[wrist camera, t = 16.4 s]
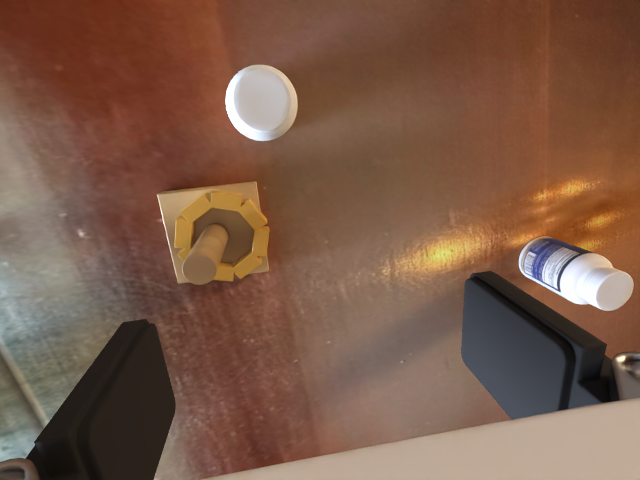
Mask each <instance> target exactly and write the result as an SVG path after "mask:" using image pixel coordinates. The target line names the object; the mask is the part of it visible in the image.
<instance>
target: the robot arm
mask: <svg viewBox="0 0 640 480" xmlns="http://www.w3.org/2000/svg"><path fill="white" fill-rule="evenodd" d="M606 346H607V344H606V343H604V342H602V341H601V340H599V339H598V338H596V337H595V336H593V335H591V334H590V333H588V332H587V331H585V330H584V329H582V328H580V327H579V326H577V325H576V324H574V323H573V322H571V321H569V320H568V319H566V318H565V317H563V316H562V315H560V314H558V313H557V312H555V311H554V310H552V309H551V308H549V307H547V306H546V305H544V304H543V303H541V302H540V301H538V300H536V299H535V298H533V297H532V296H530V295H529V294H527V293H525V292H524V291H522V290H521V289H519V288H518V287H516V286H514V285H513V284H511V283H510V282H508V281H507V280H505V279H503V278H502V277H500V276H499V275H497V274H496V273H494V272H492V271H488V272H481V273H473V274H472V275H471V276H470V279H467V280H466V282H465V294H464V311H463V329H462V347H461V354H462V358H463V361H464V363H465V364H466V366H467V367H468V368H469V369H470V370H471V372H472V373H473V374H474V375H475V376H476V378H477V379H478V380H479V381H480V382H481V383H482V385H483V386H484V387H485V388H486V389H487V391H488V392H489V393H490V394H491V395H492V397H493V398H494V399H495V400H496V401H497V403H498V404H499V405H500V406H501V407H502V408H503V410H504V411H505V412H506V413H507V414H508V416H509V417H510V418H511V419H512V420H507V421H502V422H497V423H491V424H486V425H481V426H475V427H470V428H465V429H459V430H454V431H449V432H444V433H438V434H433V435H428V436H423V437H417V438H412V439H407V440H402V441H396V442H391V443H386V444H381V445H375V446H370V447H365V448H360V449H355V450H349V451H344V452H339V453H334V454H329V455H323V456H318V457H313V458H308V459H303V460H297V461H292V462H287V463H282V464H277V465H272V466H266V467H261V468H256V469H251V470H246V471H241V472H236V473H231V474H226V475H221V476H216V477H211V478H206V479H200V480H640V352H622V353H618V354H616V355H615V356H614V357H613V358H612V360H611V359H610V358H608V357H607V356H605V350H606ZM175 406H176V404H175V397H174V393H173V390H172V386H171V382H170V378H169V374H168V370H167V367H166V363H165V359H164V355H163V351H162V347H161V344H160V340H159V336H158V332H157V328H156V326H155V324H154V323H151V324H149V322H148V321H147V320H146V319H143V320H136V321H129V322H123V323H122V324H121V325H120V327H119V328H118V329H117V331H116V332H115V334H114V335H113V336H112V338H111V339H110V340H109V342H108V343H107V344H106V346H105V347H104V348H103V350H102V351H101V352H100V354H99V355H98V357H97V358H96V359H95V361H94V362H93V363H92V365H91V366H90V367H89V369H88V370H87V371H86V373H85V374H84V375H83V377H82V378H81V380H80V381H79V382H78V384H77V385H76V386H75V388H74V389H73V390H72V392H71V393H70V394H69V396H68V397H67V398H66V400H65V401H64V403H63V404H62V405H61V407H60V408H59V409H58V411H57V412H56V413H55V415H54V416H53V417H52V419H51V420H50V422H49V423H48V424H47V426H46V427H45V428H44V430H43V431H42V432H41V434H40V435H39V436H38V438H37V439H36V440H35V442H34V443H35V446H34V448H33V449H32V450H31V452H30V453H29V454H28V456H27V457H26V459H24V458H16V459H9V460H6V461H3V462H0V480H153V479H154V476H155V473H156V470H157V467H158V464H159V460H160V457H161V454H162V451H163V448H164V445H165V442H166V439H167V436H168V433H169V429H170V426H171V423H172V420H173V417H174V414H175Z"/></svg>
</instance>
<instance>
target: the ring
mask: <svg viewBox="0 0 640 480" xmlns="http://www.w3.org/2000/svg"><path fill="white" fill-rule="evenodd" d="M242 197H243V194H238V193H231V192H224V191H216V190H213V191H212V193H211V198H210V197H209V195H208V194H207V193H206V192H205V193H204V194H202V195H201V196H200V197H198V198H197V199H196V200H194V201H193V202H192V203H190V204H189V205H188V206H186V207H185V208H184V209H183V210H182V211H181V212H180V213H181V214H182V216H179V217H178V218H177V219H176V227H175V246H174V247H175V248H183V249H181V250H180V252H179V253H178V256H179V257H180V258H181V259H182V260H183V261H185V259H186V257H187V256H188V254H189V253H190V251H191V250H192V248H193V246H194V243H193V238H194V223H195V220H197V219H198V218H199V217H201V216H202V215H203V214H205V213H206V212H207V211H209V210H210V209H211V208H218V209H226V210H234V211H239V213H240V214H241V215H242V216H243V217H244V219H245V220H246V221H247V222H248V223H249V225H250V226H251V227H252V228H253V229H254V238H253V247H252V250H251V251H249V252H248V253H247V254H245V255H244V256H243V257H241V258H240V259H239V260H237V261H236V262H235V263H227V262H220V264H219V267H218V269H217V272H216V275H215V277H214V278H213V279H212V280H222V281H233V279H234V274H236V275H237V276H238V277H239V278H240V279H242V278H243V277H244V276H246V275H247V274H248V273H250V272H251V271H253V270H254V269H255V268H257V267H258V266H259V265H261V264H262V257H266V254H267V246H268V239H269V227H267V226H264V225H266V224H267V219H266V217H265V216H264V215H263V214H262V212H261V211H260V210H259V209H258V208H257V206H256V205H255V204H254V203H253V201H252V200H251V199H250V198H249V199H248V200H246V201H245V202H244V203H242ZM261 256H262V257H261Z"/></svg>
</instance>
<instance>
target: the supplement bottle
mask: <svg viewBox="0 0 640 480" xmlns="http://www.w3.org/2000/svg"><path fill="white" fill-rule="evenodd" d="M226 109H227V113H228V116H229V118H230V120H231V122H232V123H233V125H234V126H235V127H236V129H237V130H238V131H239V132H241V133H242V134H243V135H245V136H247V137H249V138H251V139H254V140H258V141H269V140H273V139H276V138H278V137H280V136H282V135H283V134H285V133H286V132H287V131H288V130H289V128H290V127H291V126H292V124H293V122H294V120H295V118H296V114H297V109H298V101H297V95H296V92H295V89H294V87H293V85H292V83H291V82H290V80H289V79H288V78H287V77H286V76H285V75H284V74H283V73H282V72H281V71H279V70H277V69H276V68H273V67H271V66H267V65H252V66H249V67H246V68H244V69H242V70H241V71H240V72H238V73H237V74H236V75H235V76H234V78H233V79H232V80H231V82H230V84H229V86H228V89H227V93H226Z"/></svg>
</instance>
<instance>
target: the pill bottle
mask: <svg viewBox="0 0 640 480" xmlns="http://www.w3.org/2000/svg"><path fill="white" fill-rule="evenodd" d="M519 268H520V270H521V272H522V273H523V274H524V275H525V276H526V277H528V278H529V279H531V280H533V281H534V282H536V283H538V284H540V285H542V286H544V287H546V288H547V289H549V290H551V291H553V292H555V293H557V294H558V295H560V296H562V297H564V298H565V299H567V300H569V301H571V302H574V303H577V304H591V305H593V306H595V307H597V308H599V309H602V310H605V311H611V310H615V309H617V308H619V307H621V306H622V305H623V304H625V303H626V301H627V300H628V299H629V298H630V296H631V294H632V291H633V280H632V278H631V276H630V275H629V274H627V273H625V272H623V271H620V270H618V269H615V268H613V266H612V264H611V263H610V262H609V261H608V260H607V259H606V258H605V257H603V256H601V255H598V254H596V253H593V252H590V251H587V250H585V249H582V248H579V247H576V246H574V245H571V244H568V243H565V242H563V241H560V240H557V239H554V238H551V237H538V238H535V239H533V240H532V241H530V242H529V243H528V244H527V245H526V246H525V247H524V248H523V250H522V252H521V254H520V257H519Z"/></svg>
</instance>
